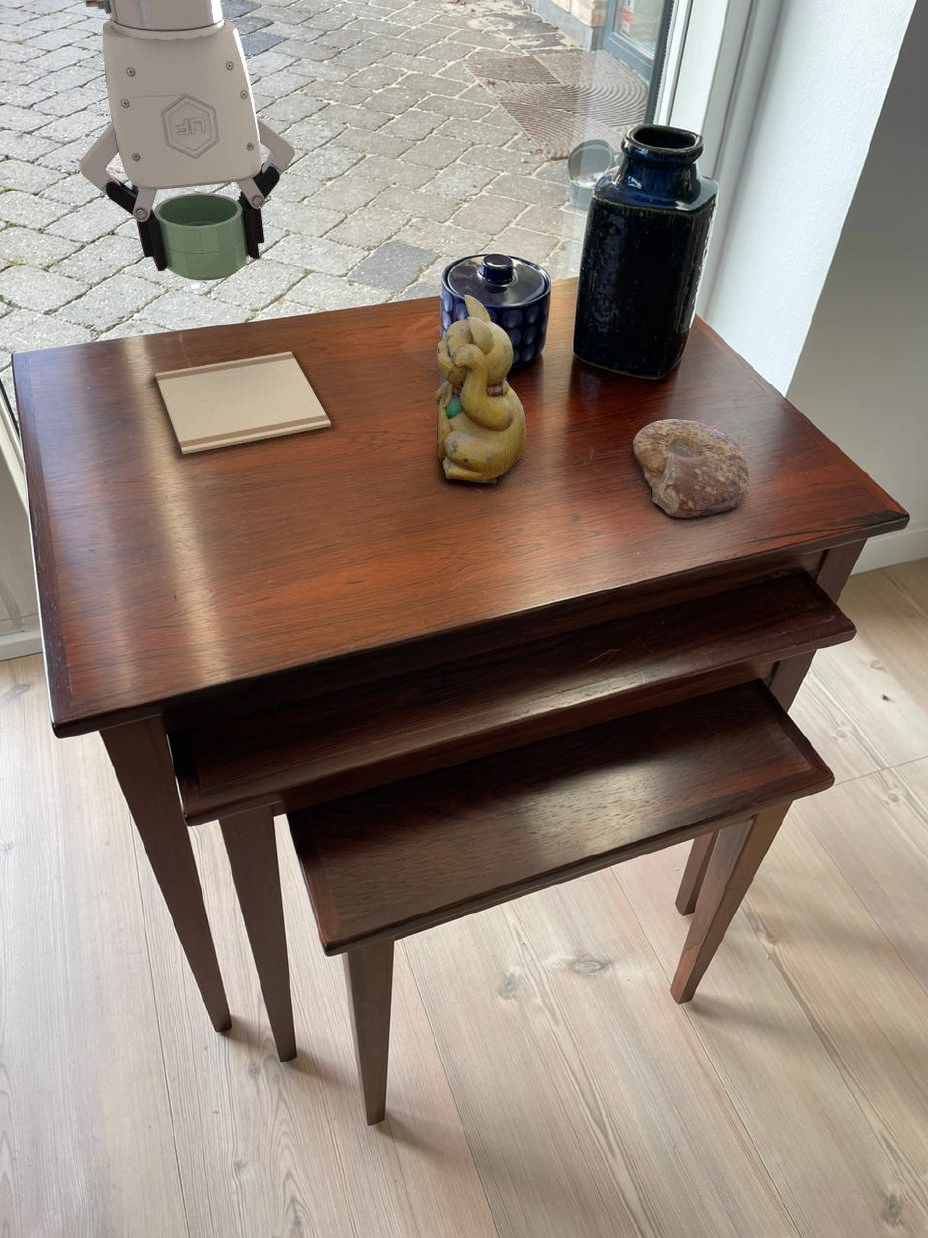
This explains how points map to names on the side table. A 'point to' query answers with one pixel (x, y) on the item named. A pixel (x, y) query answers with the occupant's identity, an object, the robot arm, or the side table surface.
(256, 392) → the cloth
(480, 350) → the decorative figurine
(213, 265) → the bowl
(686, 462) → the fossil
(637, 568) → the side table surface
